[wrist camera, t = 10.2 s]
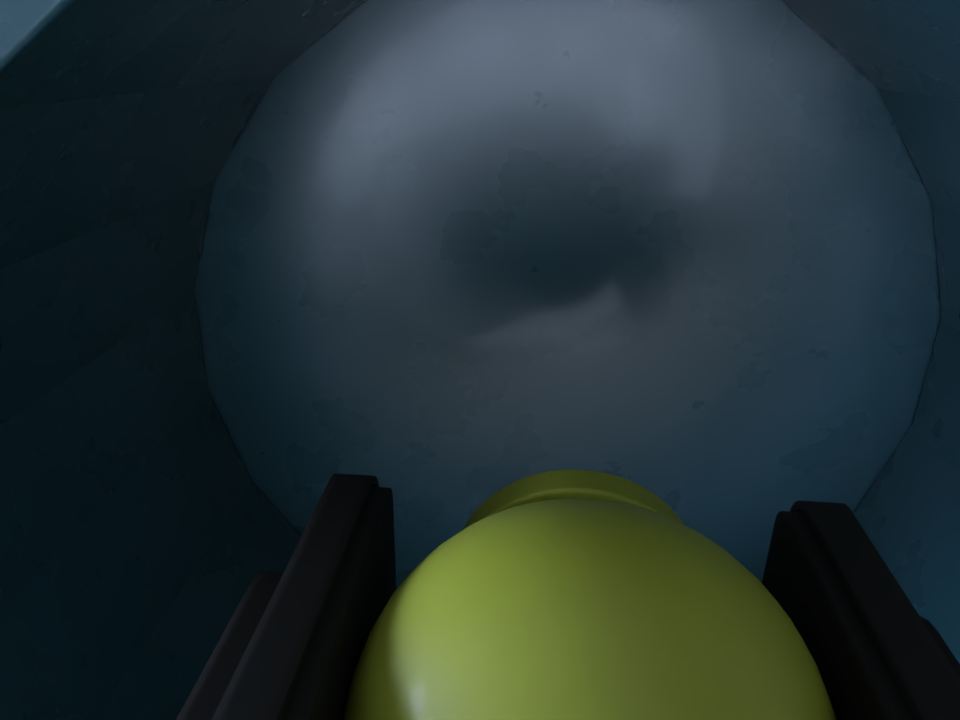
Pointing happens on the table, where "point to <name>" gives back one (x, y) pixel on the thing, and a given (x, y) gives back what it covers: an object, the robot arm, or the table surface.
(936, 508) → the dark blue round bin
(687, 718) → the pear
